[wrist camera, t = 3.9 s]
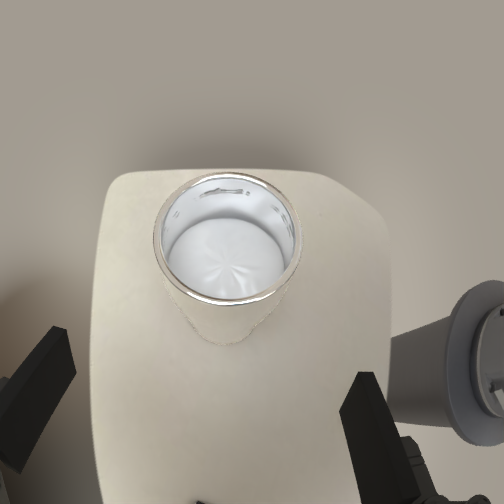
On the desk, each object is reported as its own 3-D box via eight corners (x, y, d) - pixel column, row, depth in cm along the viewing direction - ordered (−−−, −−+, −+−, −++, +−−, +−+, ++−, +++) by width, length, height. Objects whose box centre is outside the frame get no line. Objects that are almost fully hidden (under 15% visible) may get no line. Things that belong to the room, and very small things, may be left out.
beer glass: (255, 357, 26) (297, 326, 12) (175, 340, 26) (127, 289, 12) (269, 281, 29) (314, 184, 15) (194, 266, 28) (175, 157, 15)
